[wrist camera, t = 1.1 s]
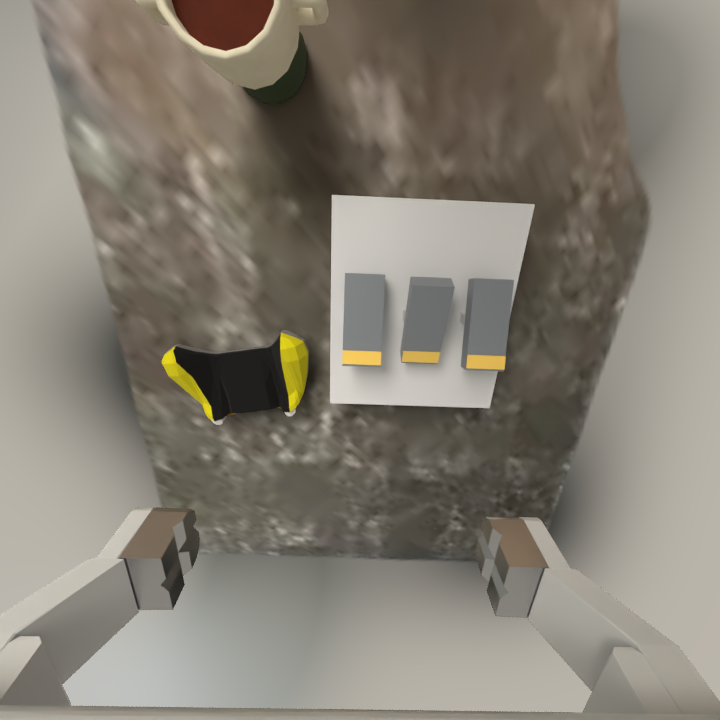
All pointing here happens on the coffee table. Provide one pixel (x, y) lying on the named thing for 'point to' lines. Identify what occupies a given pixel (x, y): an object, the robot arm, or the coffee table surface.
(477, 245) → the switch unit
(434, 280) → the block
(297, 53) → the character mug
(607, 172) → the coffee table surface
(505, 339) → the block
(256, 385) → the gaming controller
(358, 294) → the block
